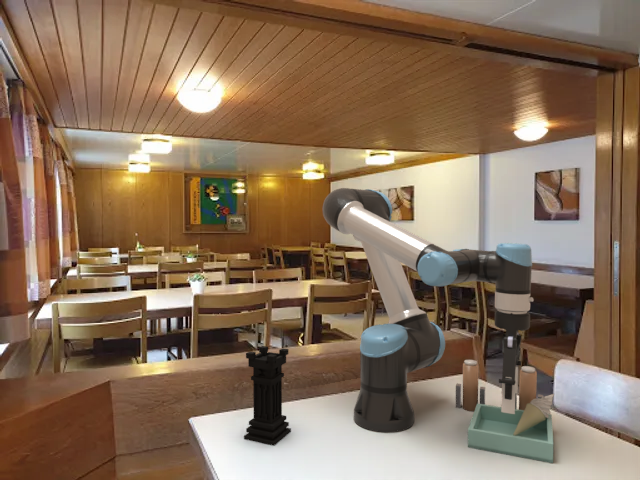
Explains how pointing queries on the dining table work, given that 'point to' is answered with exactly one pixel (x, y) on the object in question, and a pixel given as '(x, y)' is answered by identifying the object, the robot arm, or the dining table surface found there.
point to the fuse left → (470, 385)
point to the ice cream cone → (534, 413)
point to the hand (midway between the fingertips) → (509, 402)
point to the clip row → (482, 396)
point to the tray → (509, 434)
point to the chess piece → (267, 397)
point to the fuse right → (527, 386)
